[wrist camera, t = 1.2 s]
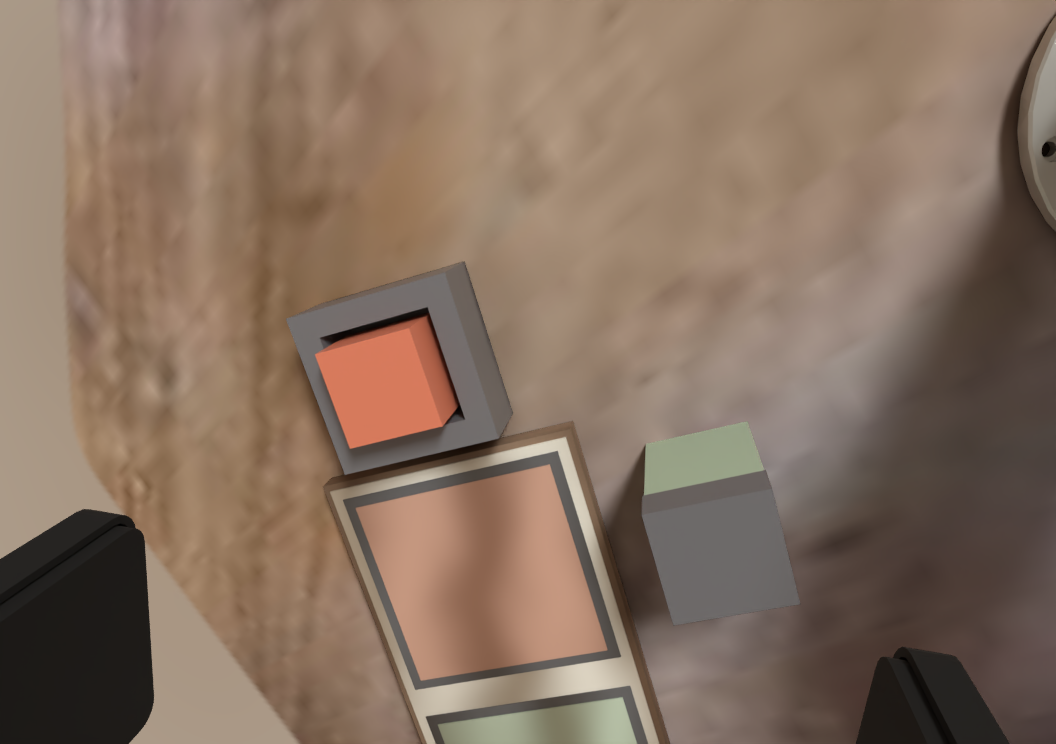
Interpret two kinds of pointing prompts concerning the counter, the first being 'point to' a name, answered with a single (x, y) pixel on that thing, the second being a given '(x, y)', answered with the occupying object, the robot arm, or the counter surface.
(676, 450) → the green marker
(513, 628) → the picture board
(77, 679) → the robot arm
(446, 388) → the button
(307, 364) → the button housing
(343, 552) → the counter surface
